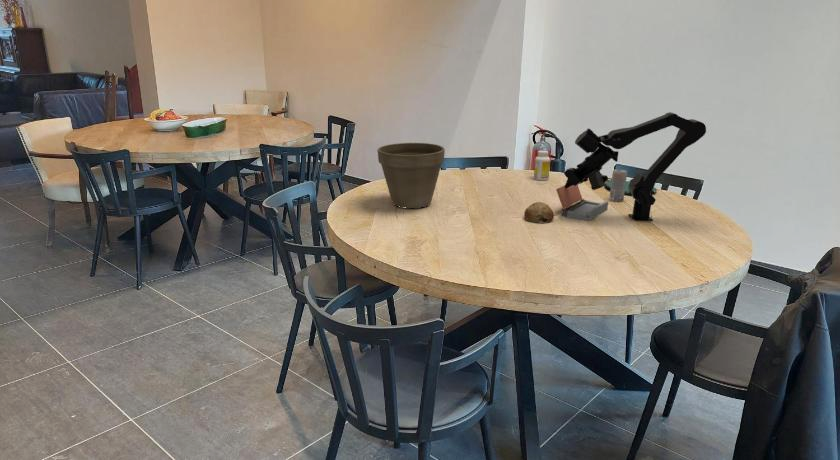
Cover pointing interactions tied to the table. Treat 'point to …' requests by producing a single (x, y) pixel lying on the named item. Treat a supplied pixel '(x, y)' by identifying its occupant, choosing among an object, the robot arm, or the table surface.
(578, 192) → the panel
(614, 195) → the energy drink
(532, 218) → the bread roll
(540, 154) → the supplement bottle
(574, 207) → the sill
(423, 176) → the plant pot
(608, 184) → the cutlery set
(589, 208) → the tray
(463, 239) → the table surface
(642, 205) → the robot arm
